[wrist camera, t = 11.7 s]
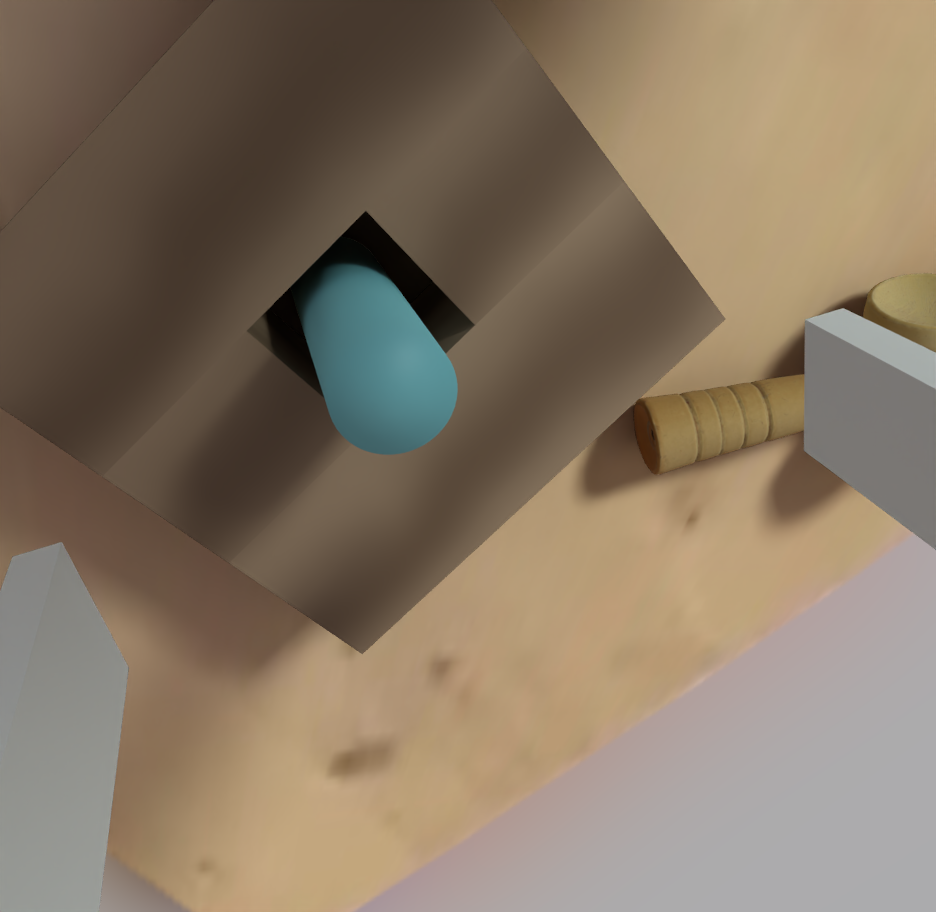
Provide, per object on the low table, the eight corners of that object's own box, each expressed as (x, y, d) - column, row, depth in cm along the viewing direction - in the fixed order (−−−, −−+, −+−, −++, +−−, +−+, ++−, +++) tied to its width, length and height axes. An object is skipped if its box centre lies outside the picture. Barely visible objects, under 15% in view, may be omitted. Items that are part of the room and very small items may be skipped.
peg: (270, 283, 28) (298, 399, 19) (335, 216, 27) (394, 303, 19) (337, 344, 29) (392, 478, 20) (400, 281, 29) (483, 390, 20)
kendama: (633, 502, 37) (1033, 410, 38) (681, 564, 31) (1156, 453, 32) (606, 327, 35) (1034, 231, 35) (652, 359, 29) (1167, 242, 29)
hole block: (-48, 285, 25) (-100, 339, 21) (338, -133, 23) (368, -167, 19) (341, 571, 33) (362, 654, 29) (653, 278, 31) (725, 319, 27)
